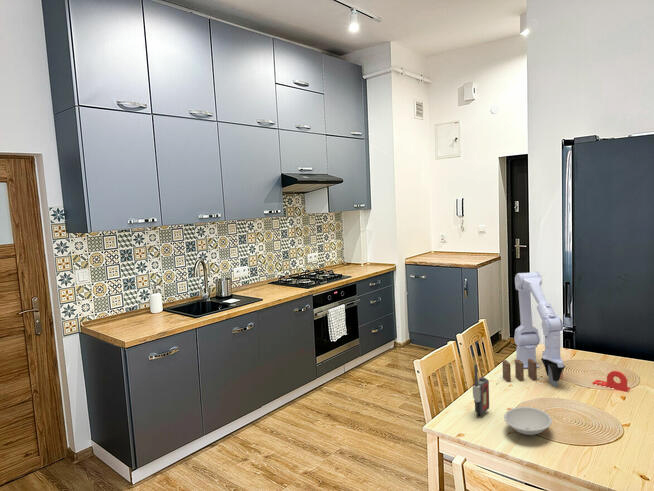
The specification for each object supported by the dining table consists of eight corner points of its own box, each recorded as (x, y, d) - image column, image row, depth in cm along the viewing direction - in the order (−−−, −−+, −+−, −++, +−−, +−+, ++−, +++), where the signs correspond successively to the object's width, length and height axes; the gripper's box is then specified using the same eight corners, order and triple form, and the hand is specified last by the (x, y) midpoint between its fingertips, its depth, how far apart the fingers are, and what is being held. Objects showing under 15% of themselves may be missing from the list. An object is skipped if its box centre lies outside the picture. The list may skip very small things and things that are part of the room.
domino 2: (533, 381, 190) (532, 363, 189) (528, 376, 195) (527, 359, 194) (536, 381, 190) (536, 362, 189) (531, 376, 195) (531, 358, 194)
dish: (513, 416, 160) (513, 403, 160) (557, 427, 151) (557, 413, 151) (497, 437, 147) (496, 423, 147) (544, 450, 138) (543, 435, 137)
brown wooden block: (507, 382, 190) (506, 364, 189) (502, 377, 195) (502, 360, 194) (510, 382, 190) (510, 364, 189) (506, 377, 195) (506, 360, 194)
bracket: (630, 390, 176) (630, 370, 175) (626, 393, 173) (626, 374, 173) (596, 382, 185) (596, 363, 185) (592, 385, 182) (592, 366, 182)
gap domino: (553, 387, 182) (553, 368, 182) (548, 382, 187) (548, 364, 187) (557, 387, 182) (557, 368, 182) (552, 382, 187) (551, 364, 187)
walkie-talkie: (479, 420, 159) (477, 366, 157) (467, 416, 162) (466, 363, 160) (490, 411, 165) (488, 359, 163) (478, 408, 168) (477, 356, 166)
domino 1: (520, 381, 190) (519, 363, 189) (515, 377, 195) (515, 359, 194) (523, 381, 190) (523, 363, 189) (519, 377, 195) (518, 359, 194)
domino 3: (559, 380, 189) (558, 362, 188) (553, 375, 194) (553, 357, 193) (563, 380, 189) (562, 361, 188) (557, 375, 194) (557, 357, 193)
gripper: (535, 341, 191) (535, 371, 192) (550, 352, 176) (551, 385, 178) (551, 340, 191) (552, 371, 192) (568, 351, 176) (569, 384, 177)
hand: (552, 378), depth 185 cm, fingers closed on gap domino, 5 cm apart
